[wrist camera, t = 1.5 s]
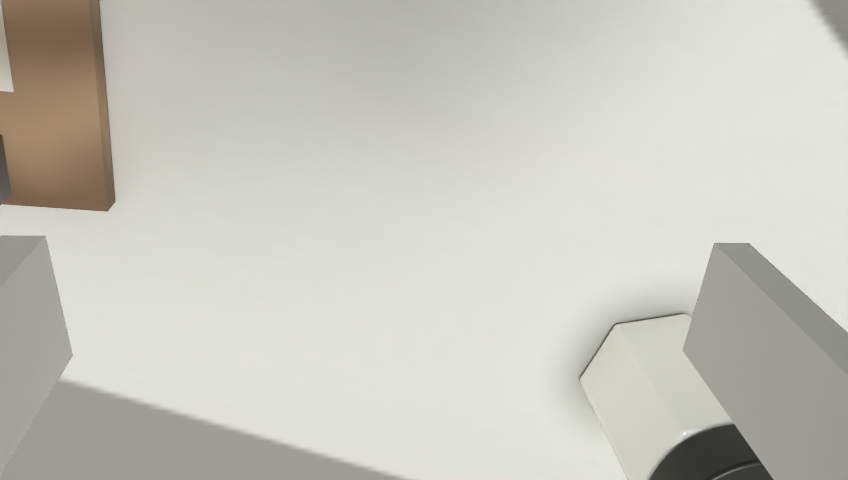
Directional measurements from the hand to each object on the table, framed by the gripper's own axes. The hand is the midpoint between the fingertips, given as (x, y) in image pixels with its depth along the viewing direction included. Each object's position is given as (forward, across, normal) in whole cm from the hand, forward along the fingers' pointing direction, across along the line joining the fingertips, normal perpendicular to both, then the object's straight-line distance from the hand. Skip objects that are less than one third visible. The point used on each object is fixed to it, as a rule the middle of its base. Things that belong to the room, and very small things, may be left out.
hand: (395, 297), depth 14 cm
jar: (+21, +18, -19) cm, 34 cm away
